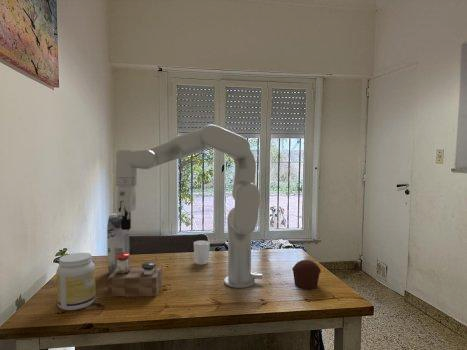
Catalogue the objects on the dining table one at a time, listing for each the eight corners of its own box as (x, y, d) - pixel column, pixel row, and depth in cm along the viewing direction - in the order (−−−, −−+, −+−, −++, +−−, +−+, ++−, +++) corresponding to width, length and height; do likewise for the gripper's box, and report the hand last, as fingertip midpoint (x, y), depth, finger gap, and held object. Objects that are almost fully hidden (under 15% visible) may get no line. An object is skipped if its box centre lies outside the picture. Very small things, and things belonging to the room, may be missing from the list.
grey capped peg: (156, 286, 130) (156, 261, 129) (154, 291, 125) (154, 265, 124) (143, 286, 130) (143, 261, 129) (140, 291, 124) (140, 266, 124)
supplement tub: (102, 297, 120) (101, 253, 119) (80, 313, 108) (78, 263, 107) (74, 294, 123) (73, 250, 122) (49, 309, 111) (47, 260, 110)
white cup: (209, 265, 156) (209, 244, 155) (192, 265, 156) (192, 244, 156) (210, 260, 164) (210, 240, 163) (194, 259, 164) (194, 240, 163)
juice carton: (129, 268, 151) (128, 211, 149) (129, 276, 141) (128, 215, 139) (109, 270, 148) (107, 212, 146) (107, 279, 138) (106, 216, 136)
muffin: (311, 293, 124) (311, 268, 123) (286, 286, 131) (286, 261, 131) (325, 284, 133) (326, 260, 132) (301, 277, 140) (302, 255, 140)
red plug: (131, 276, 129) (131, 252, 129) (127, 282, 124) (127, 256, 123) (118, 277, 129) (117, 252, 128) (114, 282, 124) (113, 256, 123)
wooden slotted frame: (117, 284, 133) (117, 267, 132) (161, 283, 133) (161, 266, 133) (107, 296, 121) (107, 278, 120) (156, 296, 121) (156, 277, 121)
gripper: (131, 183, 117) (130, 233, 118) (140, 180, 132) (140, 225, 133) (109, 183, 117) (109, 233, 118) (122, 180, 132) (121, 225, 133)
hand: (126, 229), depth 125 cm, fingers closed
